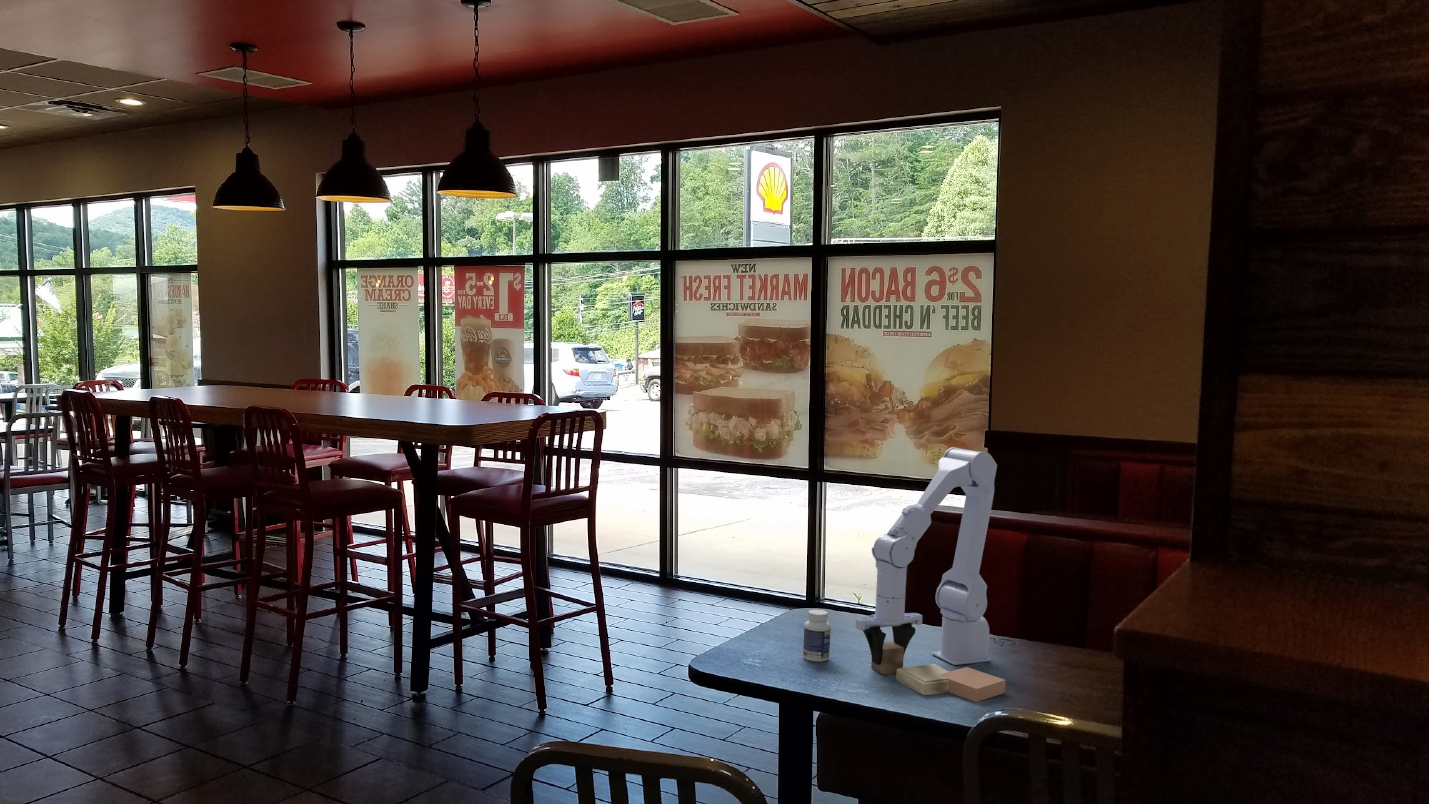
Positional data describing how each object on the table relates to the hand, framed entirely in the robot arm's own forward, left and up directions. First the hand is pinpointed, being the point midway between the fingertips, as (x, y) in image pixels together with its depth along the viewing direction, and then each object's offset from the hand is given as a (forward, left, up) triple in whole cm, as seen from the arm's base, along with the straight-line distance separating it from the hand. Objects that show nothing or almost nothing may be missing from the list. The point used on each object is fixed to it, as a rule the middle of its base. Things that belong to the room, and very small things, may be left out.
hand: (887, 662), depth 203 cm
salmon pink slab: (-9, +15, -2) cm, 18 cm away
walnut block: (0, 0, -2) cm, 2 cm away
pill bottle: (+10, -11, -2) cm, 15 cm away
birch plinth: (-3, +10, -2) cm, 11 cm away
